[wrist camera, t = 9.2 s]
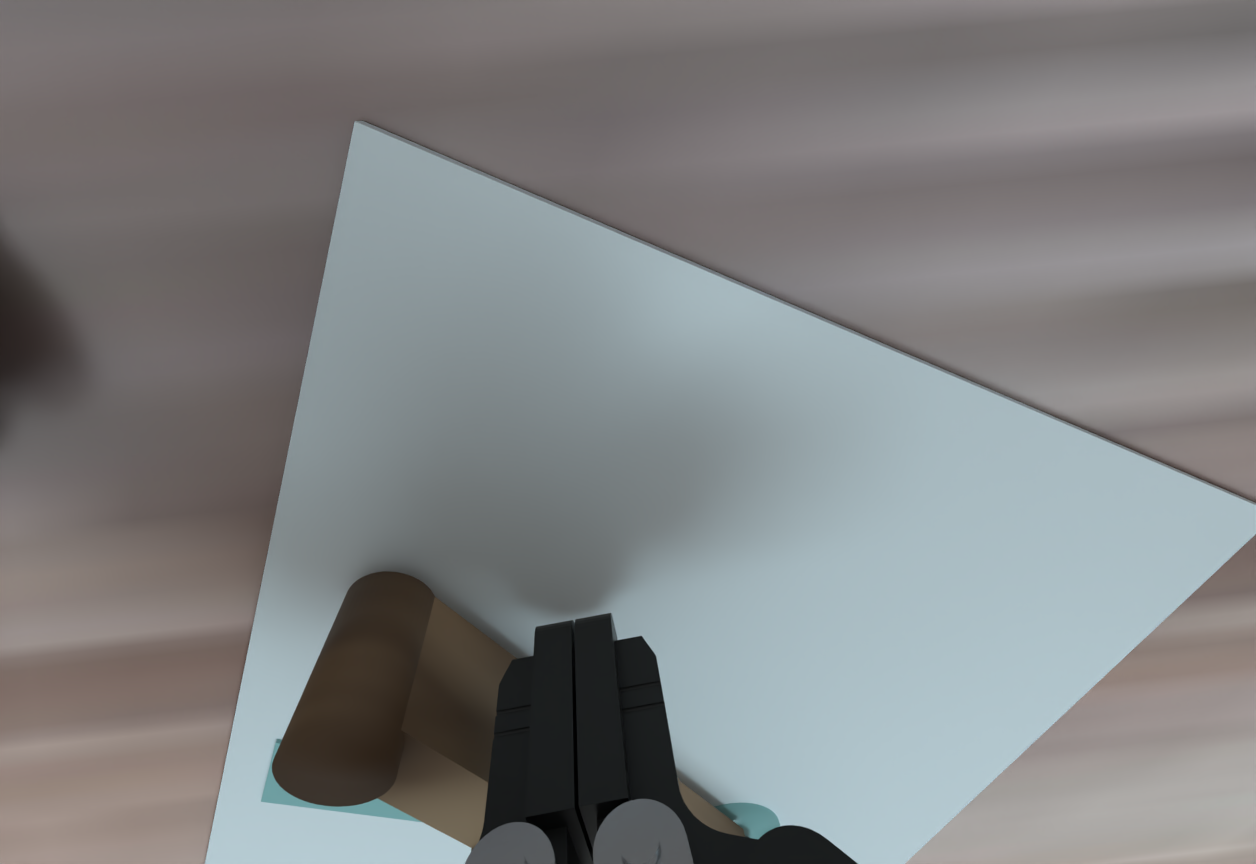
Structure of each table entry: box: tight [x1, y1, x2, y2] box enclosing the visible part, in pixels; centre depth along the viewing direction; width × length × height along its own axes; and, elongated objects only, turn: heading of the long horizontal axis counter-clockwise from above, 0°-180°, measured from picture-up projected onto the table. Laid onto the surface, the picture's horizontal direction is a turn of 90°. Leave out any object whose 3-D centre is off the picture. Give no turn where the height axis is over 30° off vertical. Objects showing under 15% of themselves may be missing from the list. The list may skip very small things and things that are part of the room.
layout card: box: [205, 121, 1256, 864], centre depth 17 cm, size 28×21×1 cm
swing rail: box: [272, 571, 750, 851], centre depth 13 cm, size 15×2×4 cm, turn 37°
